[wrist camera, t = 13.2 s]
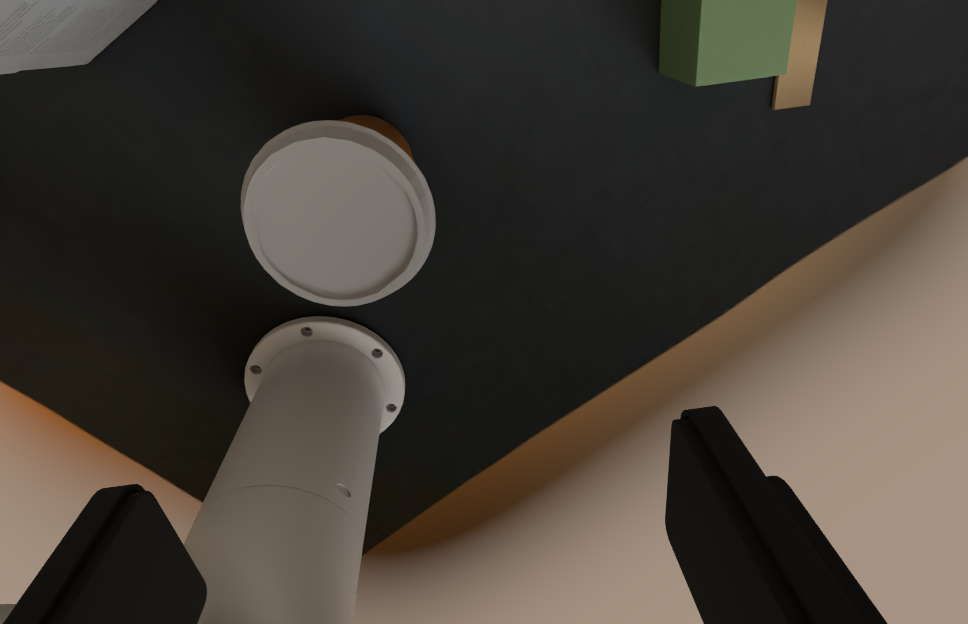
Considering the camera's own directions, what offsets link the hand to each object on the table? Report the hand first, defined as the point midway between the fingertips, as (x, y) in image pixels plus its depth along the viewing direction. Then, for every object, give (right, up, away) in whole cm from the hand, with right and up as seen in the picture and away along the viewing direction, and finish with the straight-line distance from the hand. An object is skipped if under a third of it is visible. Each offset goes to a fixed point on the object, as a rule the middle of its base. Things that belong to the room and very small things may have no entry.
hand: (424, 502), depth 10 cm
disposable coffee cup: (-7, +13, +27) cm, 31 cm away
